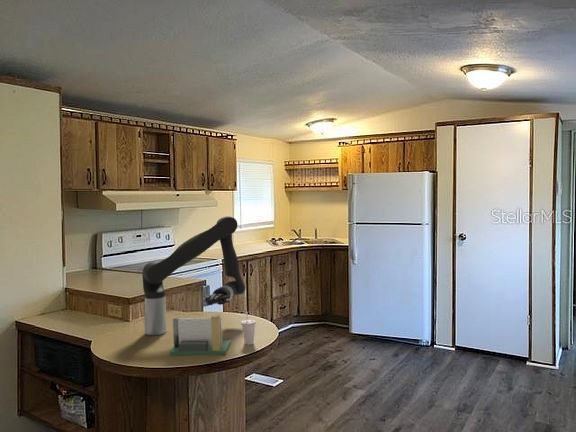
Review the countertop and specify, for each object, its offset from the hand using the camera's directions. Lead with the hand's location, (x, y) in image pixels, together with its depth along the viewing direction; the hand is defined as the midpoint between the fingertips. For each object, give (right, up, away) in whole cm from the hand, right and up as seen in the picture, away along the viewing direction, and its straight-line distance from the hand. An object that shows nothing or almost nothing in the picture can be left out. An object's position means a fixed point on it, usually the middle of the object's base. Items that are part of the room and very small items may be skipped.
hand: (209, 302), depth 213 cm
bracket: (-3, -19, -6) cm, 20 cm away
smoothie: (+17, -18, +1) cm, 25 cm away
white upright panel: (-3, -17, -9) cm, 19 cm away
